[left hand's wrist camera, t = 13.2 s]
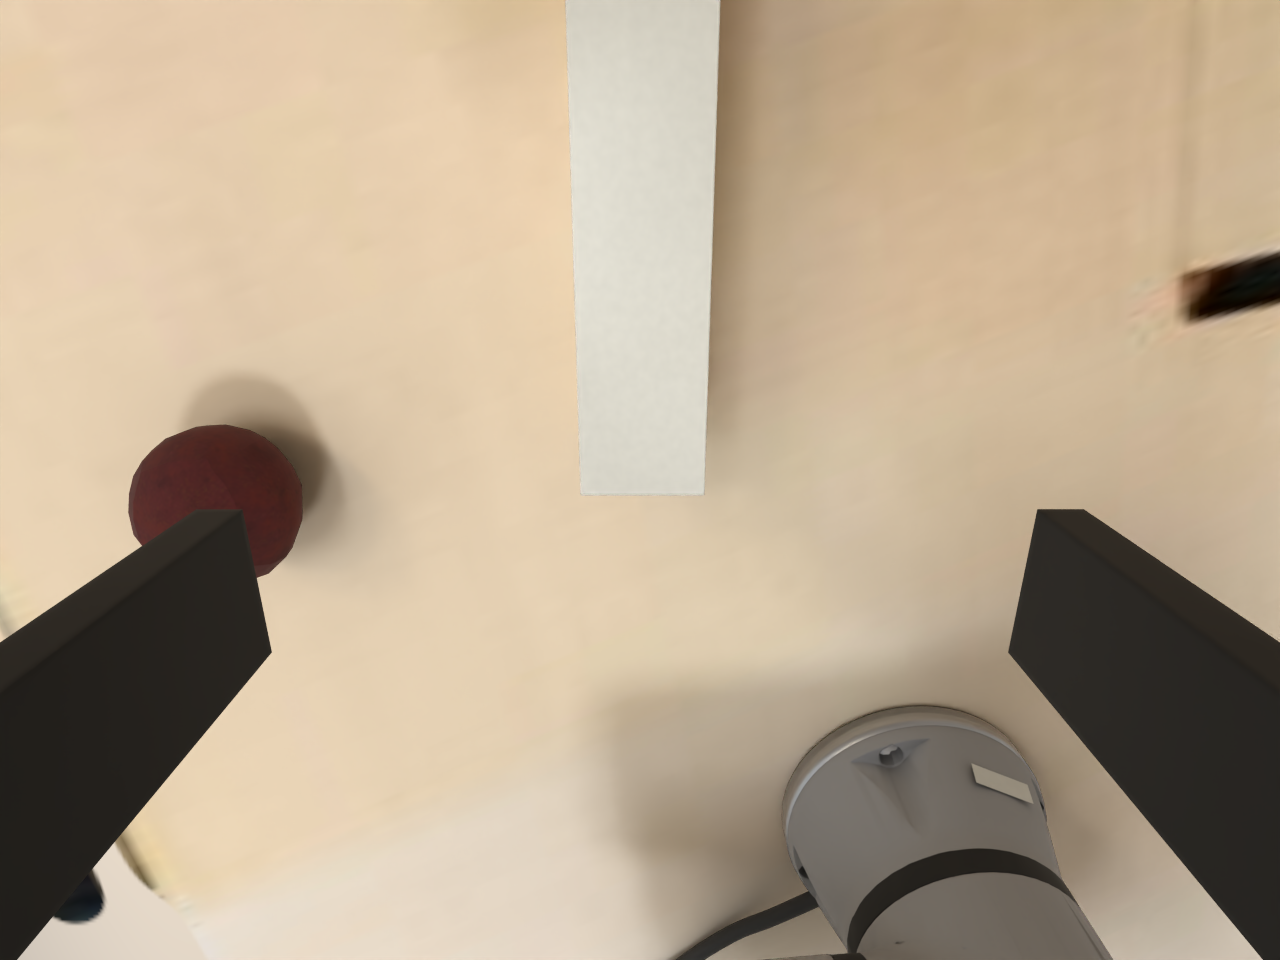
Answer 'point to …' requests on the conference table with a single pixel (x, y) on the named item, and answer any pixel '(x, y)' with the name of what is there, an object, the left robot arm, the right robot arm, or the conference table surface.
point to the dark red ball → (220, 488)
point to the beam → (642, 238)
